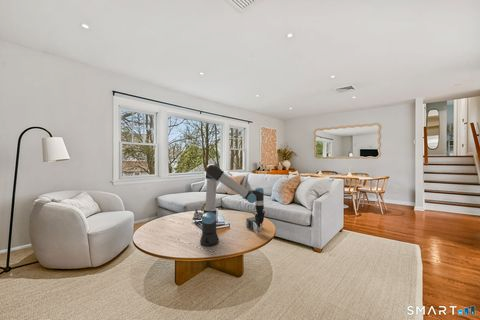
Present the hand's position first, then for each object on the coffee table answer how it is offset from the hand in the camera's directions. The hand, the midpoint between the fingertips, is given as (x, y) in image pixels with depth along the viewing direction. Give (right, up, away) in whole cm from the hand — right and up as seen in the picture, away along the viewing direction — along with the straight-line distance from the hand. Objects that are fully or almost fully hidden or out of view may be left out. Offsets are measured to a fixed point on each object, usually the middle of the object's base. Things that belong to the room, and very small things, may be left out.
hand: (259, 230), depth 191 cm
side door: (-5, -3, +1) cm, 5 cm away
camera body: (-5, -2, +14) cm, 15 cm away
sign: (-57, -2, +33) cm, 66 cm away
